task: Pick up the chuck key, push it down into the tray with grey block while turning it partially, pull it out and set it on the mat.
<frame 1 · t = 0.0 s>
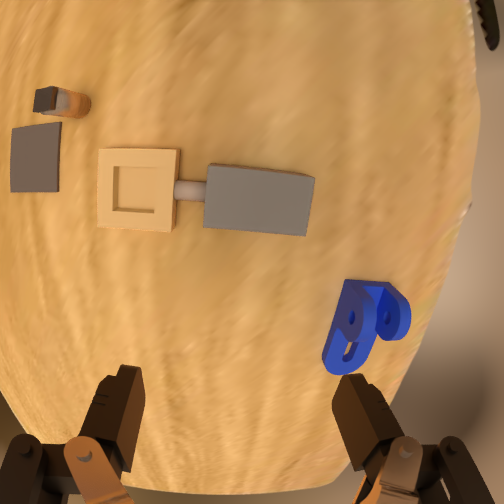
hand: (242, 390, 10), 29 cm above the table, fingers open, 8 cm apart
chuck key: (80, 106, 31), on the table
tray with grey block: (140, 186, 35), on the table
mat: (34, 158, 32), on the table
bracket: (351, 327, 46), on the table
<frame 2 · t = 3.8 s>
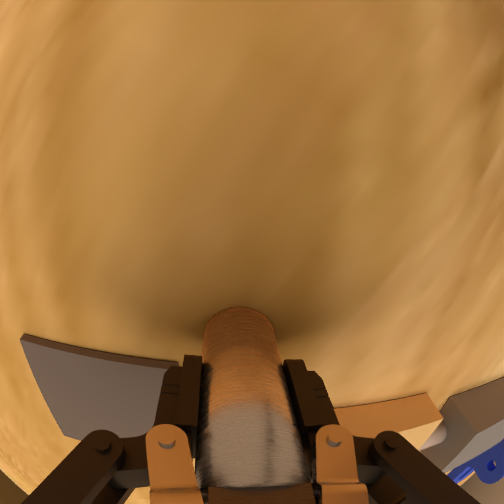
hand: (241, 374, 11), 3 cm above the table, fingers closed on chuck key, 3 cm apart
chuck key: (238, 336, 14), on the table, touching gripper
tray with grey block: (351, 441, 19), on the table
mat: (107, 406, 15), on the table
bracket: (472, 454, 30), on the table
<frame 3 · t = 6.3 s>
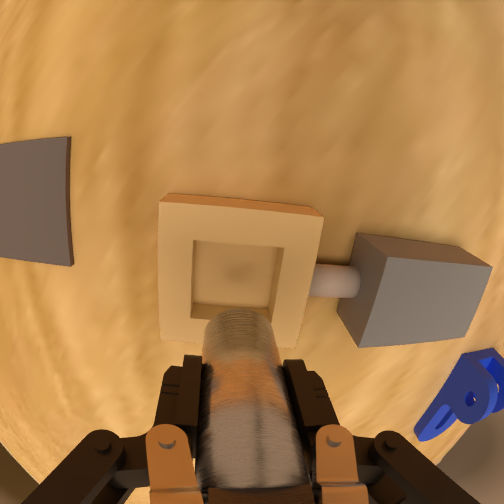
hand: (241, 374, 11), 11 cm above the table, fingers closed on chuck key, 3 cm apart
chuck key: (238, 337, 14), point 8 cm above the table, touching gripper
tray with grey block: (233, 266, 22), on the table
mat: (23, 201, 18), on the table
bracket: (449, 395, 33), on the table
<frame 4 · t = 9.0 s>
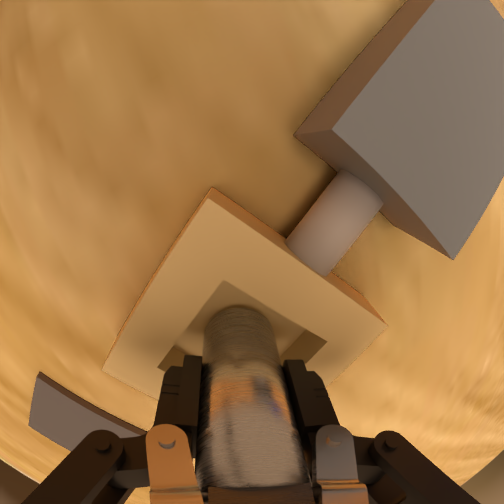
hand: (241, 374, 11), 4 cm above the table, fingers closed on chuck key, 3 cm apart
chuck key: (238, 337, 14), point 1 cm above the table, touching gripper
tray with grey block: (238, 321, 15), on the table
mat: (82, 430, 18), on the table
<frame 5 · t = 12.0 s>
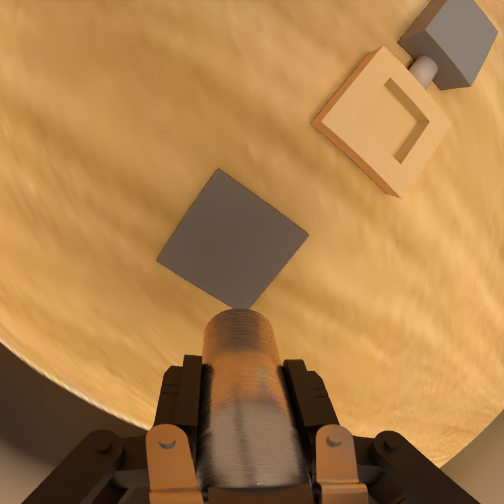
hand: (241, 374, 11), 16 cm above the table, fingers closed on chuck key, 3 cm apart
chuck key: (238, 337, 14), point 14 cm above the table, touching gripper
tray with grey block: (380, 121, 24), on the table
mat: (231, 245, 27), on the table
when the fingers open (4 cm above the table, at t = 14.5 s): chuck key stays where it is, resting on mat.
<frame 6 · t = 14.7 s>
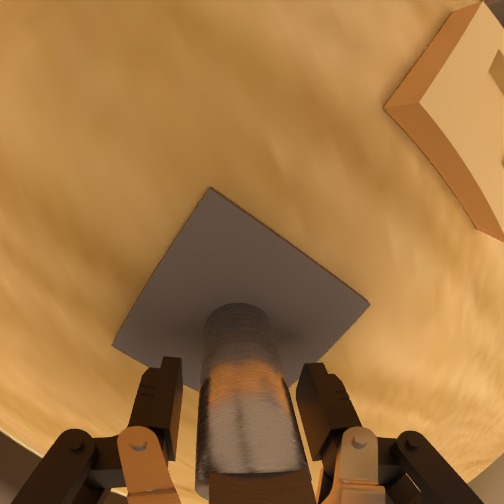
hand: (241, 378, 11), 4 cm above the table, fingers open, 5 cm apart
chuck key: (238, 331, 14), point 1 cm above the table, touching mat
tray with grey block: (475, 116, 12), on the table
mat: (237, 324, 15), on the table
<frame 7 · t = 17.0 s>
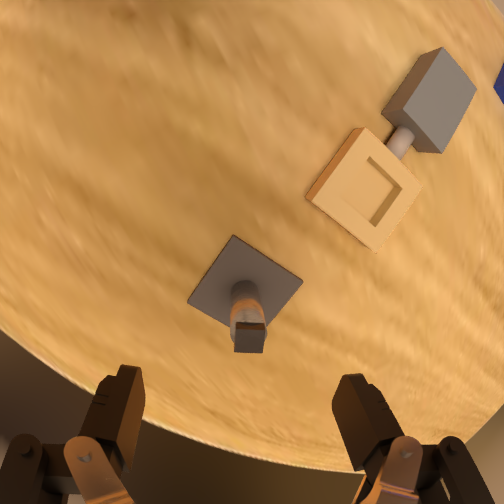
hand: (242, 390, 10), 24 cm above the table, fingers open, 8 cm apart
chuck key: (244, 293, 34), point 1 cm above the table, touching mat
tray with grey block: (361, 188, 32), on the table
mat: (244, 290, 35), on the table
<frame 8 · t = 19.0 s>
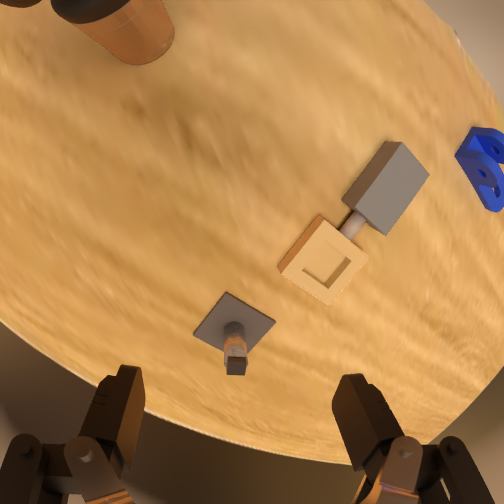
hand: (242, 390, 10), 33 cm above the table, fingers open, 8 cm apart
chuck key: (234, 329, 48), point 1 cm above the table, touching mat
tray with grey block: (321, 258, 45), on the table
mat: (233, 327, 48), on the table
bracket: (482, 174, 43), on the table
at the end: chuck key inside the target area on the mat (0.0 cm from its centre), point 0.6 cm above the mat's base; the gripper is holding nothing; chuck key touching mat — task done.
